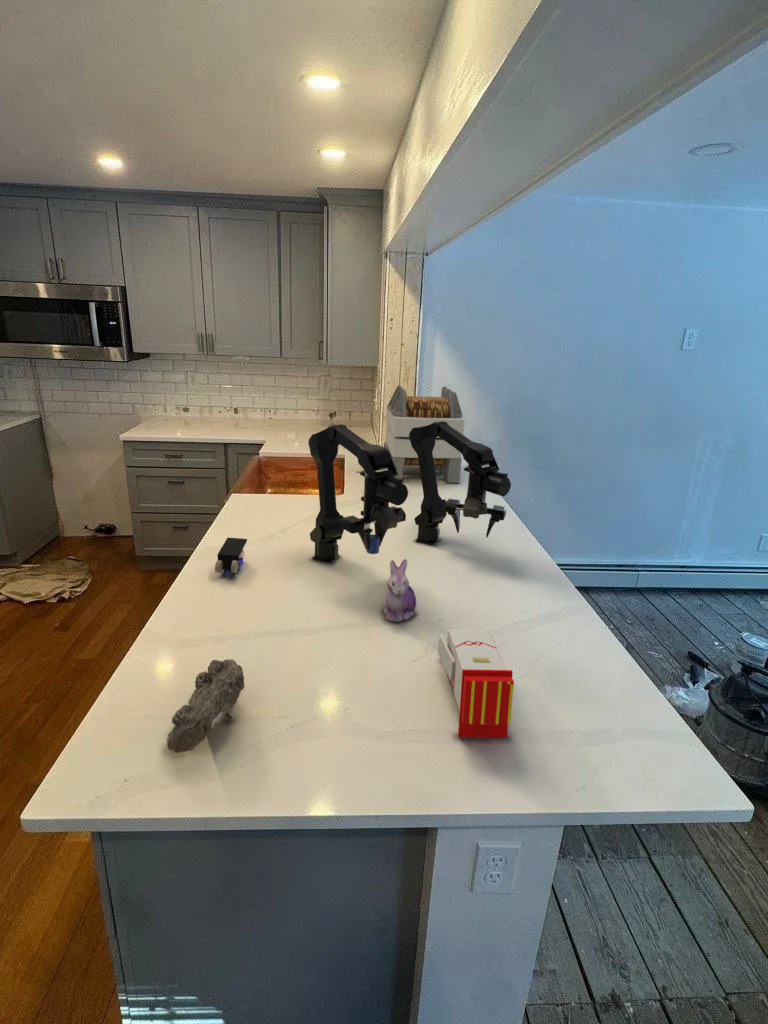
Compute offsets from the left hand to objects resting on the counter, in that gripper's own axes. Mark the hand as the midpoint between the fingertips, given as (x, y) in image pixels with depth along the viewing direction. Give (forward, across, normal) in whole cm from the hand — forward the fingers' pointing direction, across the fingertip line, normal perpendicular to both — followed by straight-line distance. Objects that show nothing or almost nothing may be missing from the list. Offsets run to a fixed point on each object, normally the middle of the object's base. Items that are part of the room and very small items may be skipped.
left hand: (372, 548), depth 157 cm
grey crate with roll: (+12, +91, +81) cm, 123 cm away
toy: (+12, -12, -49) cm, 52 cm away
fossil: (+12, -58, -26) cm, 64 cm away
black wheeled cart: (+12, -28, +31) cm, 44 cm away
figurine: (+12, -3, -16) cm, 21 cm away
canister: (+1, 0, 0) cm, 1 cm away
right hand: (+3, +38, -3) cm, 38 cm away
